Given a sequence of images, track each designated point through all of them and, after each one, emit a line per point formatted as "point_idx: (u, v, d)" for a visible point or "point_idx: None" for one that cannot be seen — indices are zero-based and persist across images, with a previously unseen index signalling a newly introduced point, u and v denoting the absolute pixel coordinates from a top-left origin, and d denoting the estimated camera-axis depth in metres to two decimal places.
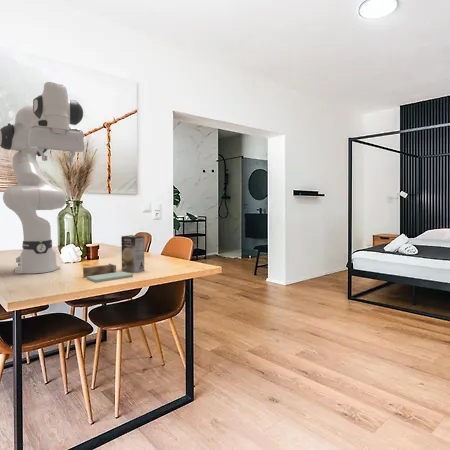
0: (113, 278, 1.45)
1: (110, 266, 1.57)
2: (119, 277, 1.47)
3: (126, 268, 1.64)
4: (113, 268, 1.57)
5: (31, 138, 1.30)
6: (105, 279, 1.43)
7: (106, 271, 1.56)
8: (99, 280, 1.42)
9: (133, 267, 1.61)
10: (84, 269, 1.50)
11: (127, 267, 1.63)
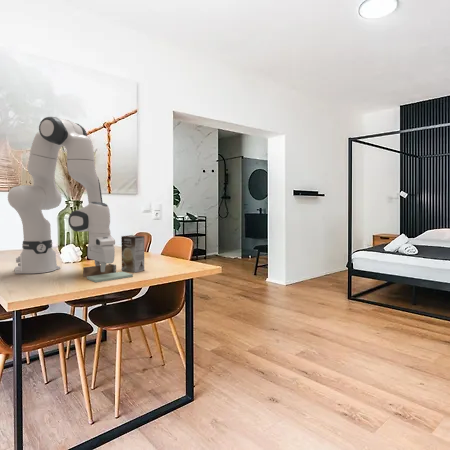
0: (113, 278, 1.45)
1: (110, 266, 1.57)
2: (119, 277, 1.47)
3: (126, 268, 1.64)
4: (113, 267, 1.57)
5: None
6: (105, 279, 1.43)
7: (106, 271, 1.56)
8: (99, 280, 1.42)
9: (133, 267, 1.61)
10: (84, 269, 1.50)
11: (127, 267, 1.63)
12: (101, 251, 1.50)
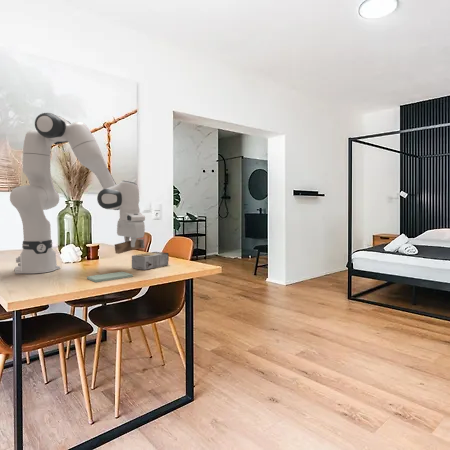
0: (113, 278, 1.45)
1: (138, 240, 1.66)
2: (119, 277, 1.47)
3: (138, 255, 1.70)
4: (141, 242, 1.66)
5: None
6: (105, 279, 1.43)
7: (135, 246, 1.65)
8: (99, 280, 1.42)
9: (147, 256, 1.68)
10: (116, 246, 1.58)
11: (139, 255, 1.70)
12: (132, 227, 1.59)
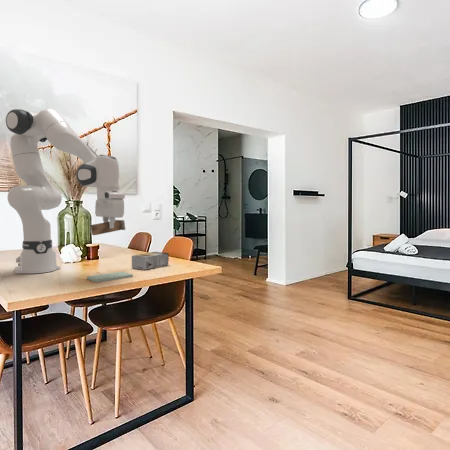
0: (113, 278, 1.45)
1: (118, 221, 1.50)
2: (119, 277, 1.47)
3: (138, 255, 1.70)
4: (121, 223, 1.50)
5: (123, 210, 1.42)
6: (105, 279, 1.43)
7: (115, 227, 1.49)
8: (99, 280, 1.42)
9: (147, 256, 1.68)
10: (92, 226, 1.42)
11: (139, 255, 1.70)
12: (110, 205, 1.43)
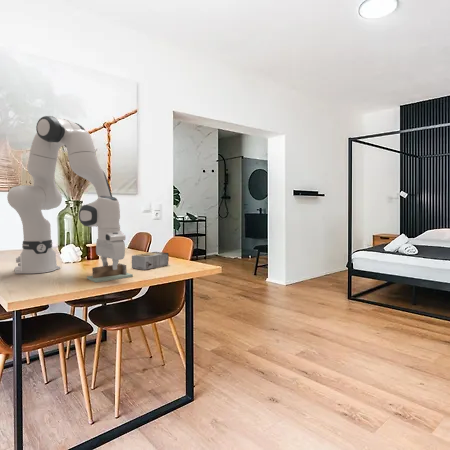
0: (113, 278, 1.45)
1: (120, 266, 1.51)
2: (119, 277, 1.47)
3: (138, 255, 1.70)
4: (123, 267, 1.51)
5: (124, 252, 1.43)
6: (105, 279, 1.43)
7: (116, 271, 1.50)
8: (99, 280, 1.42)
9: (147, 256, 1.68)
10: (93, 269, 1.44)
11: (139, 255, 1.70)
12: (111, 247, 1.44)
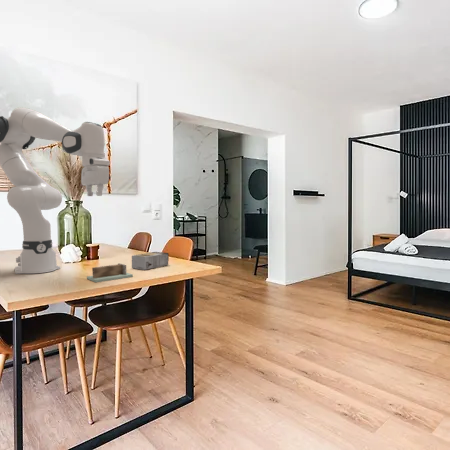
0: (113, 278, 1.45)
1: (120, 266, 1.51)
2: (119, 277, 1.47)
3: (138, 255, 1.70)
4: (123, 267, 1.51)
5: (108, 176, 1.42)
6: (105, 279, 1.43)
7: (116, 271, 1.50)
8: (99, 280, 1.42)
9: (147, 256, 1.68)
10: (93, 269, 1.44)
11: (139, 255, 1.70)
12: (95, 172, 1.42)
